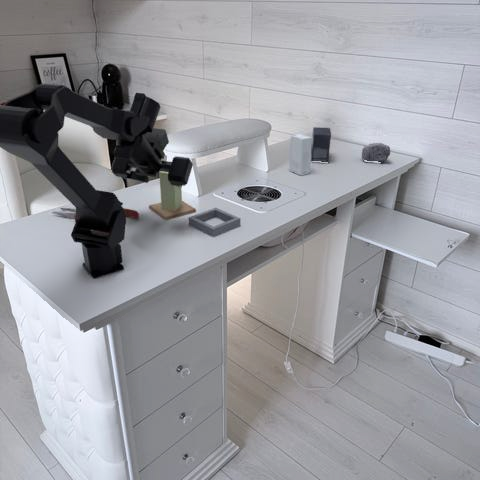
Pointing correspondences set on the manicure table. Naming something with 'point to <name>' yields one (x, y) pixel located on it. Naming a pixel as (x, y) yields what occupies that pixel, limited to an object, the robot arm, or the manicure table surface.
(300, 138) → the skincare box
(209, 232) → the gray square frame
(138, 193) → the manicure table surface
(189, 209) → the walnut pad
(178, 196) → the olive block
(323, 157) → the small box
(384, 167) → the manicure table surface
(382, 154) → the pumice stone
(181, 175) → the robot arm
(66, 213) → the pliers
